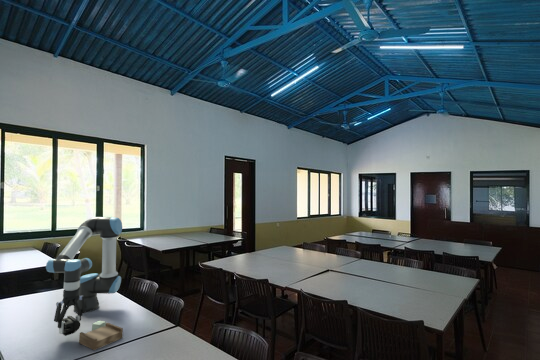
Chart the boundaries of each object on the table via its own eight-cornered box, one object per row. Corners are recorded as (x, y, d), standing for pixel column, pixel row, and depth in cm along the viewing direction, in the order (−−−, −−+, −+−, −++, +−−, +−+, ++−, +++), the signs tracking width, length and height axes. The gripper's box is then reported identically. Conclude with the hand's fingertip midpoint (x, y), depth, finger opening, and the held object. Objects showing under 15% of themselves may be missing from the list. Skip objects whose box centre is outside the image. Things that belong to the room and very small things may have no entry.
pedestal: (107, 331, 176) (107, 322, 176) (122, 338, 169) (122, 328, 170) (78, 343, 162) (79, 332, 162) (94, 350, 155) (95, 339, 156)
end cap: (80, 331, 164) (80, 319, 165) (65, 336, 159) (66, 323, 159) (72, 326, 170) (73, 314, 171) (58, 330, 165) (59, 318, 165)
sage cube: (98, 328, 180) (98, 320, 180) (105, 330, 179) (105, 321, 179) (91, 332, 175) (92, 323, 175) (98, 333, 174) (99, 324, 174)
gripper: (86, 282, 176) (84, 321, 175) (47, 292, 158) (44, 336, 157) (94, 284, 172) (91, 324, 172) (54, 295, 154) (52, 340, 154)
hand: (69, 330), depth 165 cm, fingers closed on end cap, 8 cm apart
